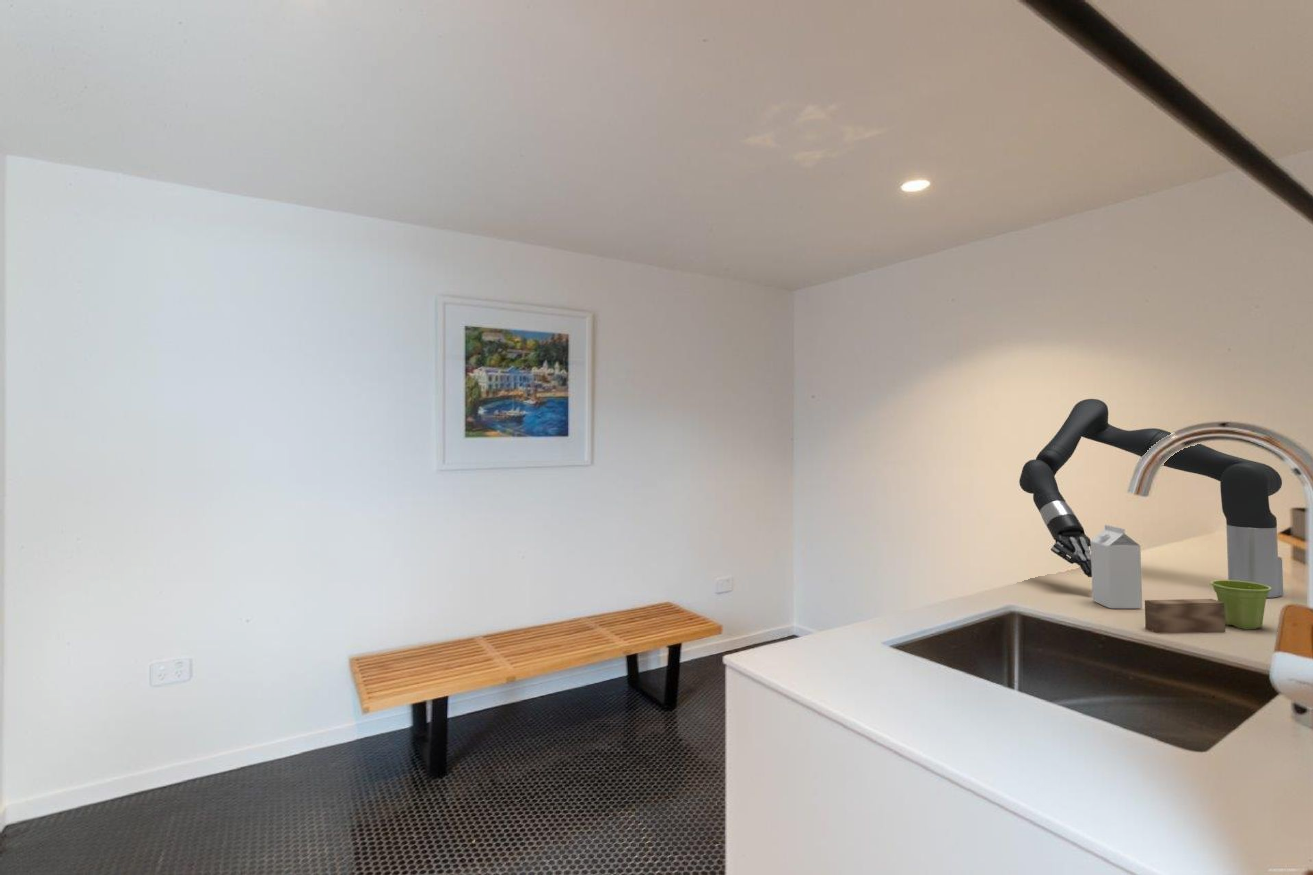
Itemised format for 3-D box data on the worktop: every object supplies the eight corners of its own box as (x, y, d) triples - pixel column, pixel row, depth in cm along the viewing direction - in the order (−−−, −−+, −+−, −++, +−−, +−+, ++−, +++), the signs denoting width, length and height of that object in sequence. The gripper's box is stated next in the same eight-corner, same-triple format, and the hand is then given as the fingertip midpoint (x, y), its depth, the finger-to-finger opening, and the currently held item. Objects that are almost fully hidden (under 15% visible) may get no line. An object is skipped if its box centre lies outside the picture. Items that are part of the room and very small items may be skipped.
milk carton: (1122, 601, 151) (1120, 524, 151) (1142, 609, 144) (1140, 528, 144) (1092, 601, 152) (1089, 524, 152) (1110, 609, 144) (1108, 529, 145)
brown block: (1210, 626, 130) (1209, 598, 130) (1225, 631, 126) (1224, 602, 127) (1144, 627, 130) (1143, 599, 130) (1156, 632, 127) (1155, 603, 127)
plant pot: (1220, 628, 128) (1219, 587, 128) (1205, 616, 137) (1204, 578, 137) (1281, 634, 124) (1279, 591, 124) (1261, 621, 132) (1260, 581, 132)
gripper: (1079, 529, 170) (1112, 583, 158) (1031, 530, 171) (1060, 584, 158) (1091, 512, 165) (1127, 566, 153) (1042, 513, 165) (1073, 567, 153)
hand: (1093, 575), depth 156 cm, fingers closed
